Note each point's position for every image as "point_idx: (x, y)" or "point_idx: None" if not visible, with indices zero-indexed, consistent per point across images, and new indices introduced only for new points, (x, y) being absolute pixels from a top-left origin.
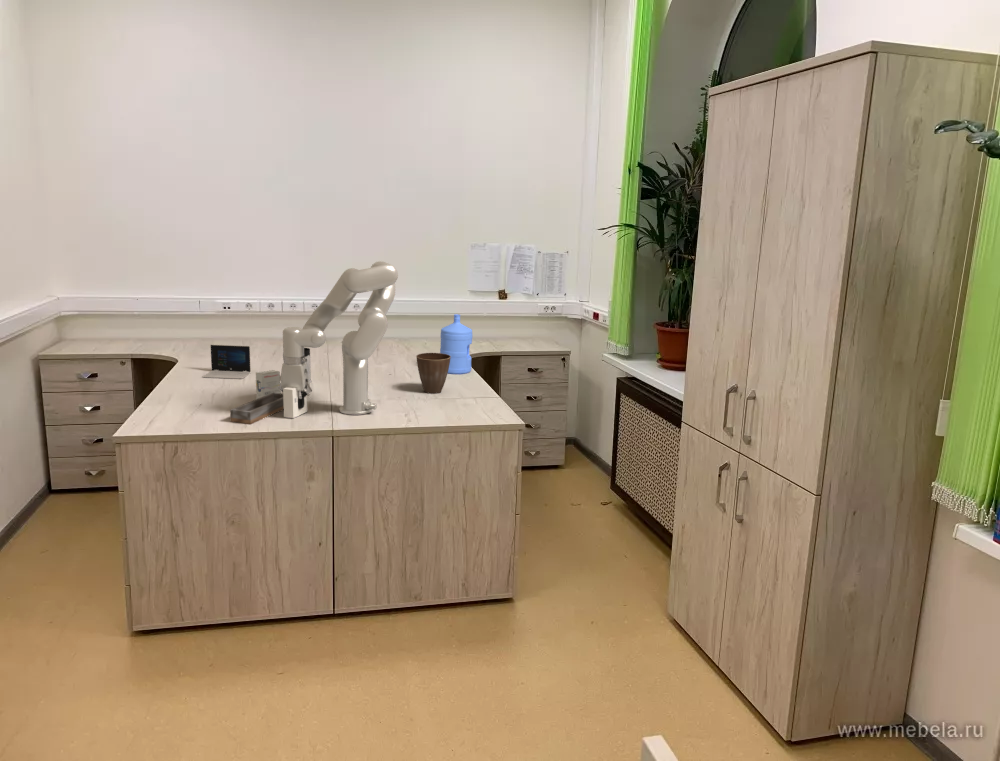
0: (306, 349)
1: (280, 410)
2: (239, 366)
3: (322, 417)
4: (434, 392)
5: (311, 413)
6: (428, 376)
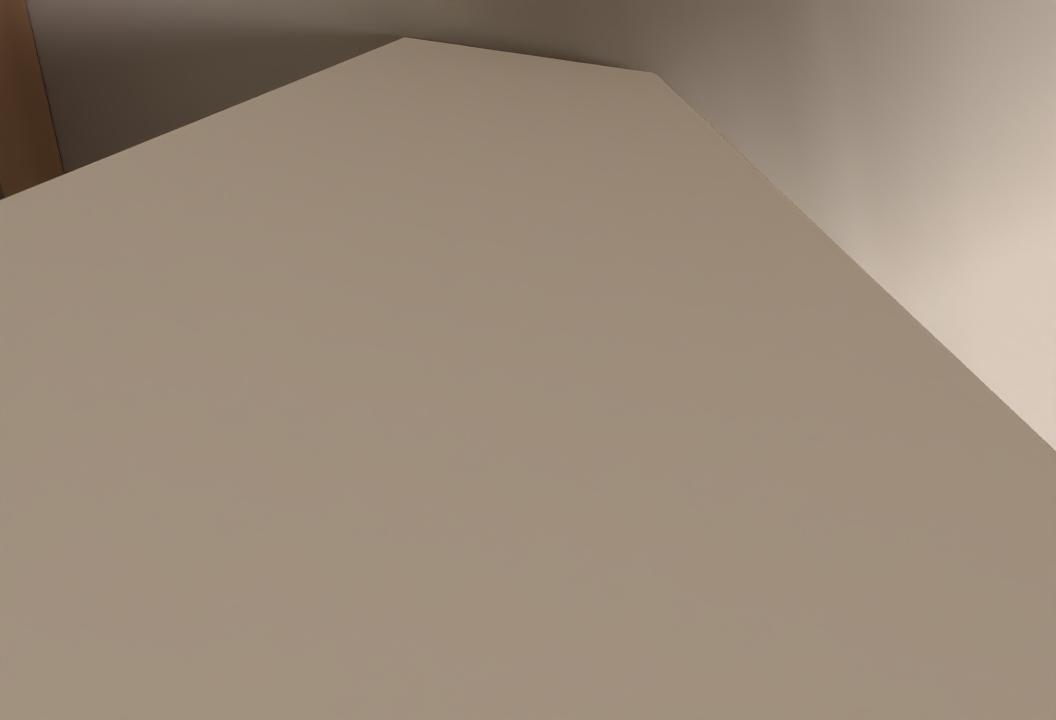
0: None
1: (51, 155)
2: None
3: (1034, 326)
4: None
5: (764, 121)
6: None
